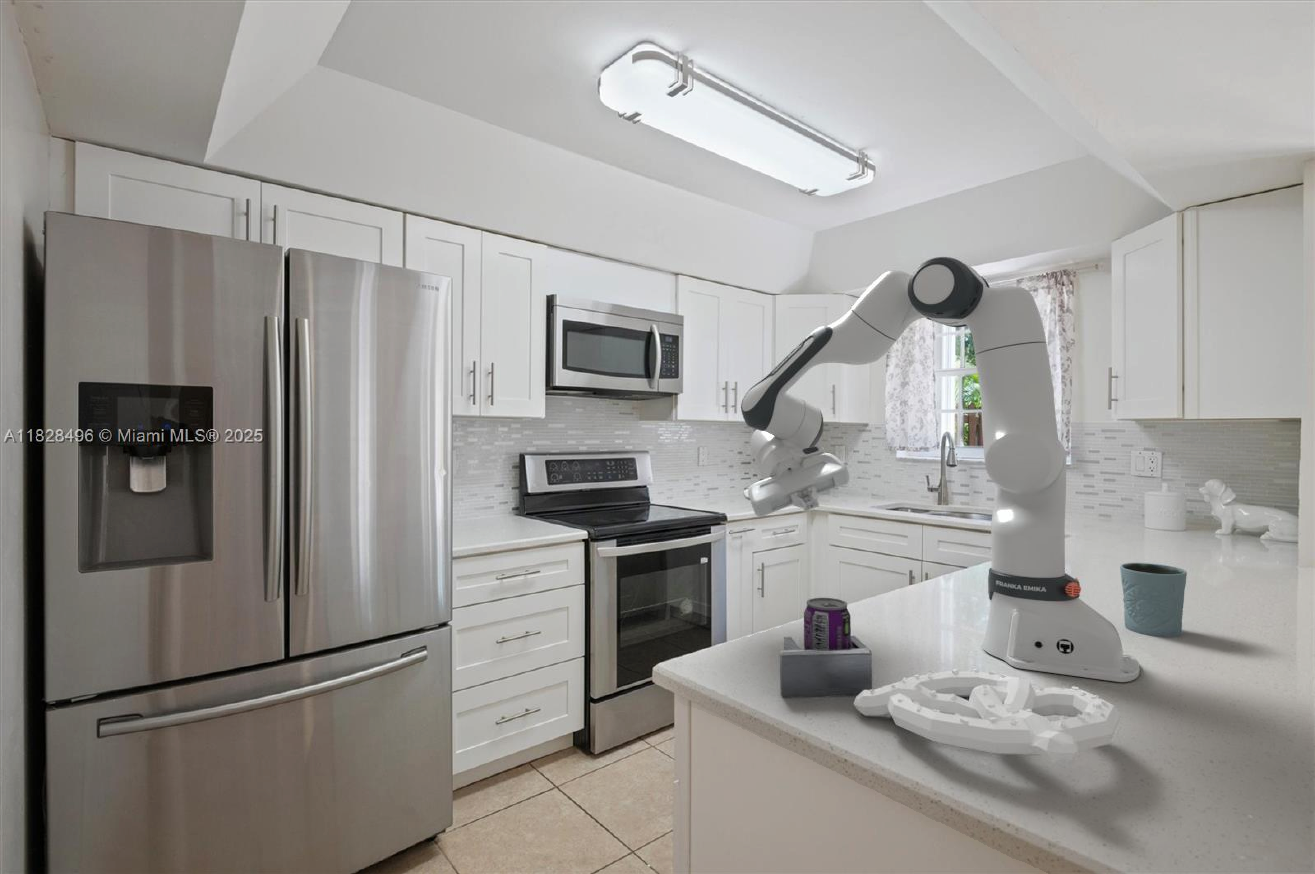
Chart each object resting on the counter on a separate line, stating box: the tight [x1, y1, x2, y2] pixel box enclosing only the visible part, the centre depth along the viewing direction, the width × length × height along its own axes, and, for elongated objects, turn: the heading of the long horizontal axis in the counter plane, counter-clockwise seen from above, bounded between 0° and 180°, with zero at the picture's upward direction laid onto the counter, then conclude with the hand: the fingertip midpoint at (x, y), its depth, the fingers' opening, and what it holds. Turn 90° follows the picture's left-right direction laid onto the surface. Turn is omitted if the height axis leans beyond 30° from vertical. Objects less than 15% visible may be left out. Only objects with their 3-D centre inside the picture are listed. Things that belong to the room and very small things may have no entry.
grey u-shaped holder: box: [779, 635, 873, 698], centre depth 97 cm, size 9×14×7 cm, turn 92°
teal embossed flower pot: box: [1119, 562, 1188, 638], centre depth 121 cm, size 10×10×12 cm
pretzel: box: [853, 668, 1121, 768], centre depth 80 cm, size 28×24×6 cm
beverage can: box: [803, 597, 852, 650], centre depth 99 cm, size 7×7×12 cm
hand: (811, 506), depth 121 cm, fingers closed
